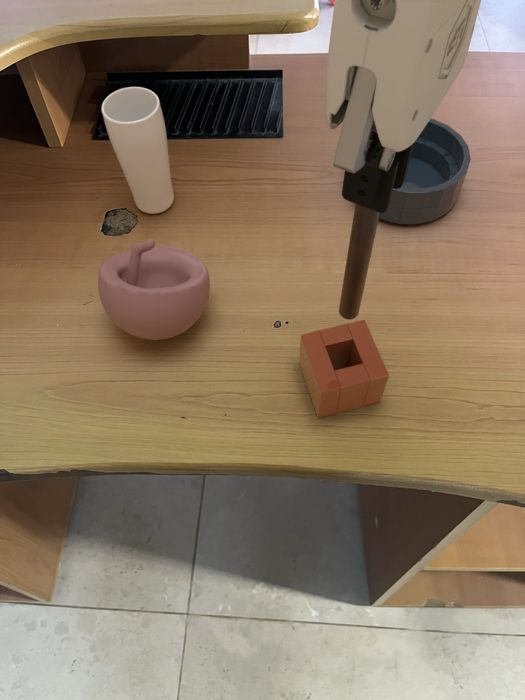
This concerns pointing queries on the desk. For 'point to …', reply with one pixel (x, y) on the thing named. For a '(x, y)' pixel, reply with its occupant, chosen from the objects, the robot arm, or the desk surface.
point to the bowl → (430, 176)
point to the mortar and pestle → (154, 290)
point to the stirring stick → (358, 257)
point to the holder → (340, 352)
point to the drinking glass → (140, 146)
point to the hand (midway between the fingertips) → (372, 190)
